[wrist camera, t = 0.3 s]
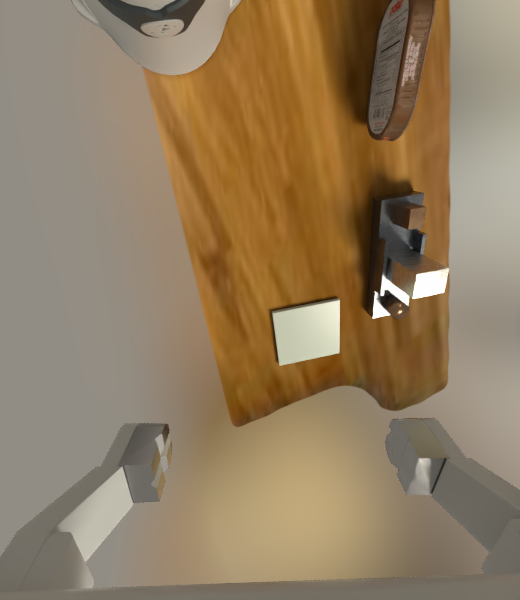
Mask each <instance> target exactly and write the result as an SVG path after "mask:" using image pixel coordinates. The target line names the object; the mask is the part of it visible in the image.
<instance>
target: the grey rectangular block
mask: <svg viewBox="0 0 520 600" xmlns="http://www.w3.org/2000/svg"><path fill="white" fill-rule="evenodd" d="M448 272H449V268H448V267H446V266H444V265H442V264H440V263H438V262H436V261H434V260H432V259H430V258H428V257H426V256H424V255H422V254H420V253H418V252H416V251H414V250H412V249H407V250H402V251H397V252H391V253H388V257H387V267H386V279H387V280H388V281H390V282H391V283H392V284H394V285H395V286H396V287H398V288H399V289H400V290H402V291H403V292H405V293H406V294H407V295H409V296H410V297H411V298H413V299H415V298H419V297H424V296H429V295H434V294H439V293H444V291H445V286H446V281H447V276H448Z"/></svg>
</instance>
